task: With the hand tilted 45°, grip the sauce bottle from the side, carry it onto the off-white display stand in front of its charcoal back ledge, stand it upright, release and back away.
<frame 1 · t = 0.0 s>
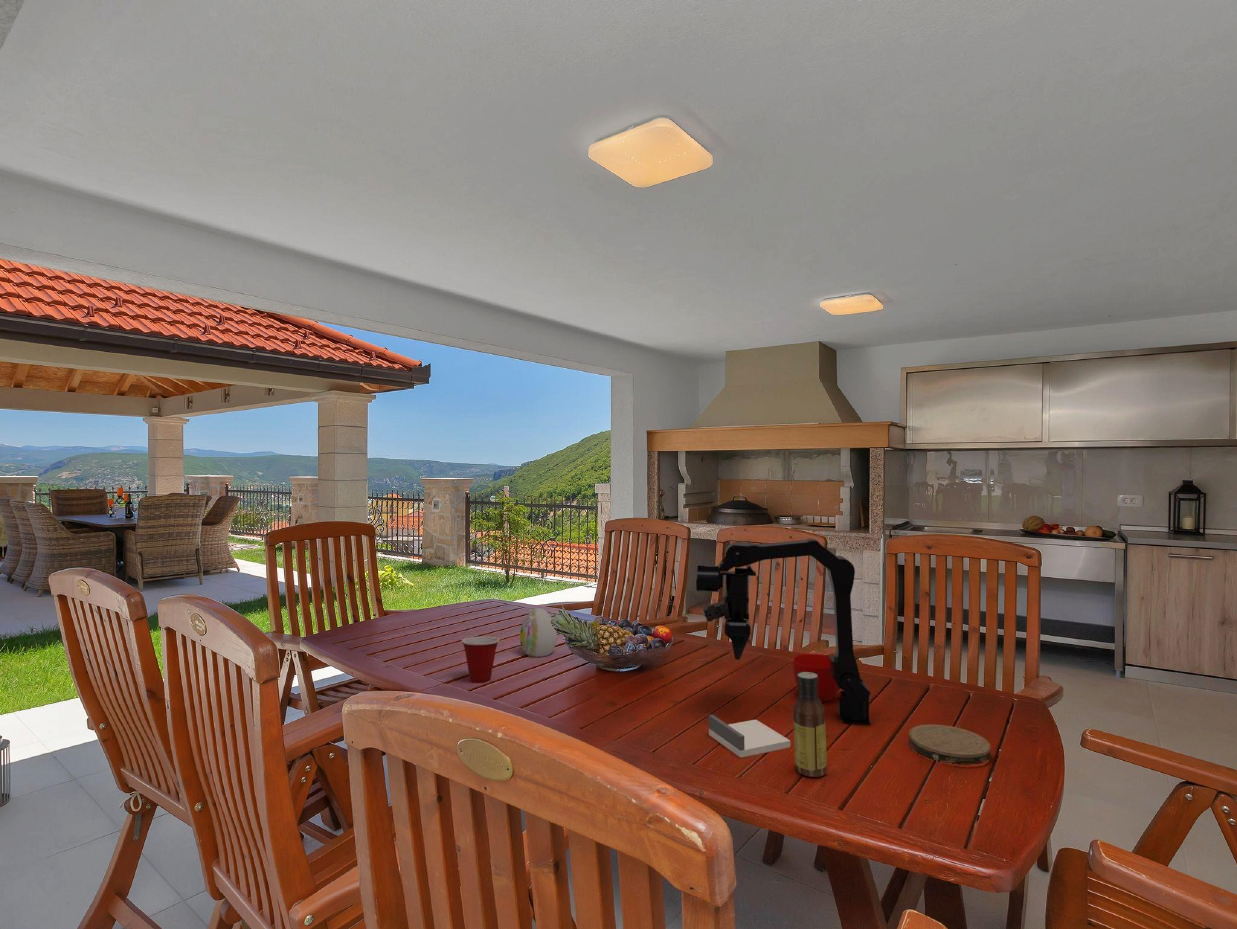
hand: (737, 654, 165), 15 cm above the table, tool pointing down, fingers open, 9 cm apart
display stand: (748, 740, 148), on the table
decorative egg: (538, 654, 216), on the table
ceramic cup: (825, 698, 175), on the table
sauce bottle: (810, 772, 133), on the table
grey-brown flat disc: (948, 753, 142), on the table
plastic cup: (480, 680, 190), on the table
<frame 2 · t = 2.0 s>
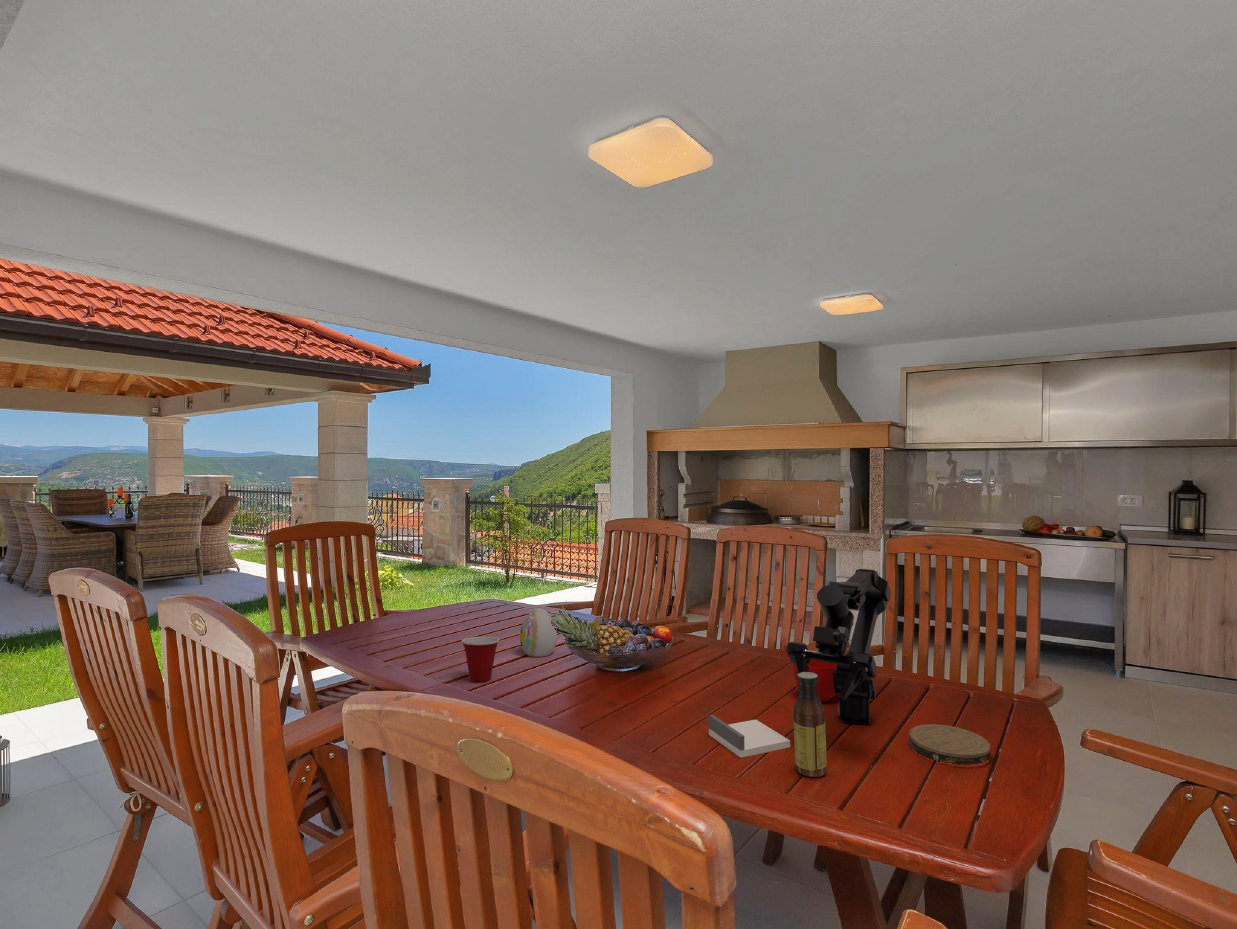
hand: (821, 694, 140), 13 cm above the table, tool tilted 45°, fingers open, 9 cm apart
nothing on the table moved.
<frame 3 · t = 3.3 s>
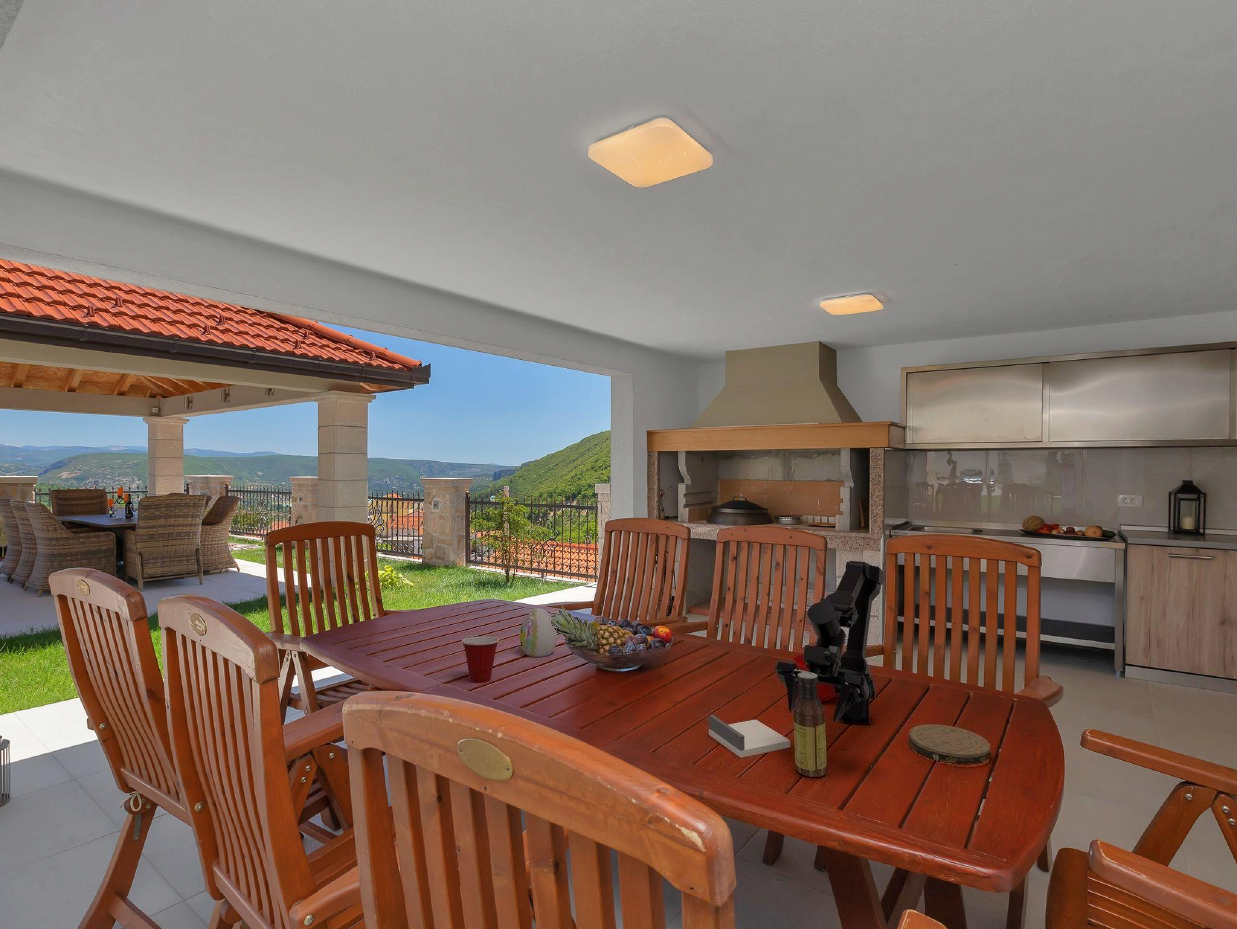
hand: (811, 716, 134), 11 cm above the table, tool tilted 45°, fingers open, 9 cm apart
nothing on the table moved.
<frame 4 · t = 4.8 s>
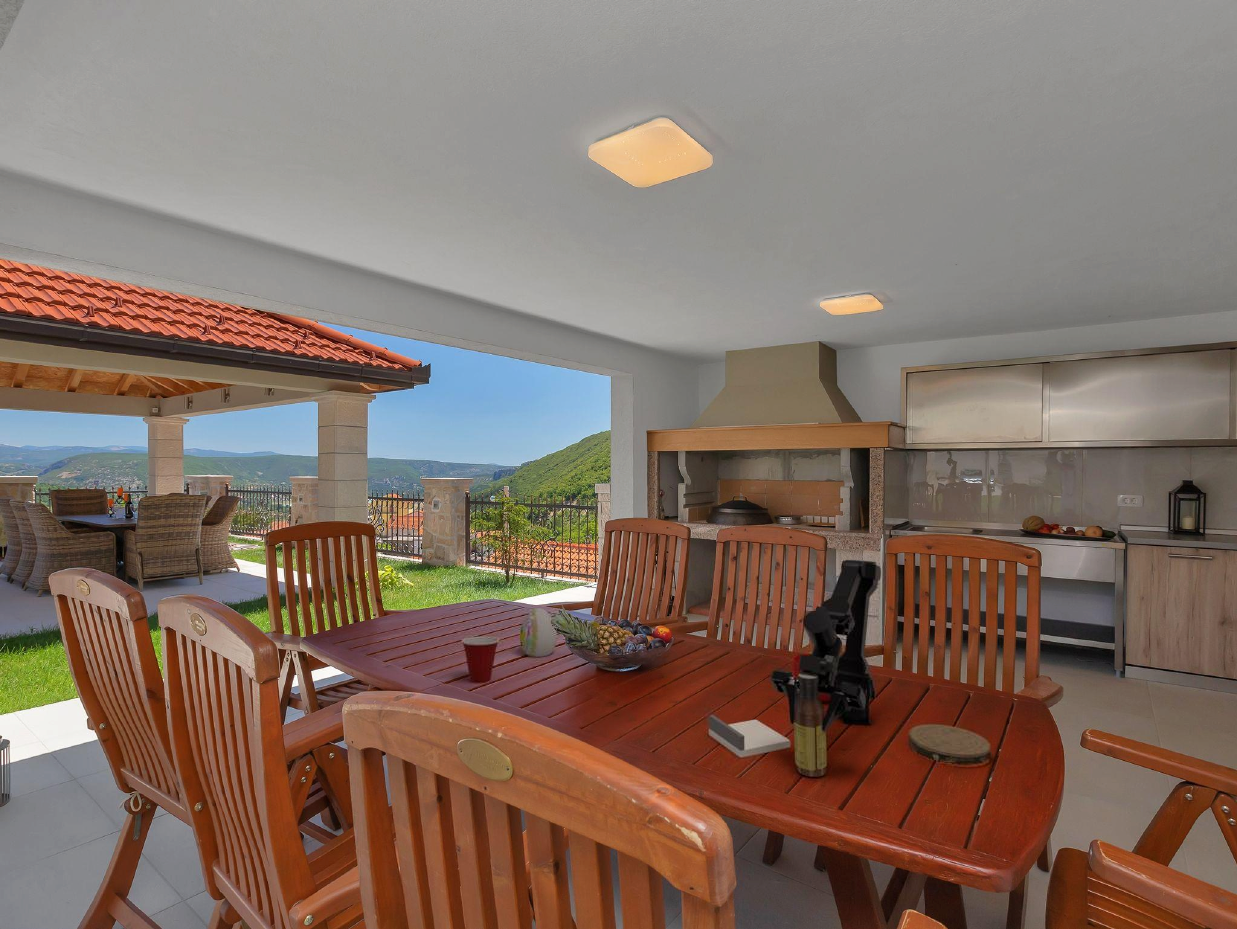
hand: (807, 726, 132), 10 cm above the table, tool tilted 45°, fingers closed on sauce bottle, 6 cm apart
sauce bottle: (810, 772, 133), on the table, touching gripper
everything else where it was.
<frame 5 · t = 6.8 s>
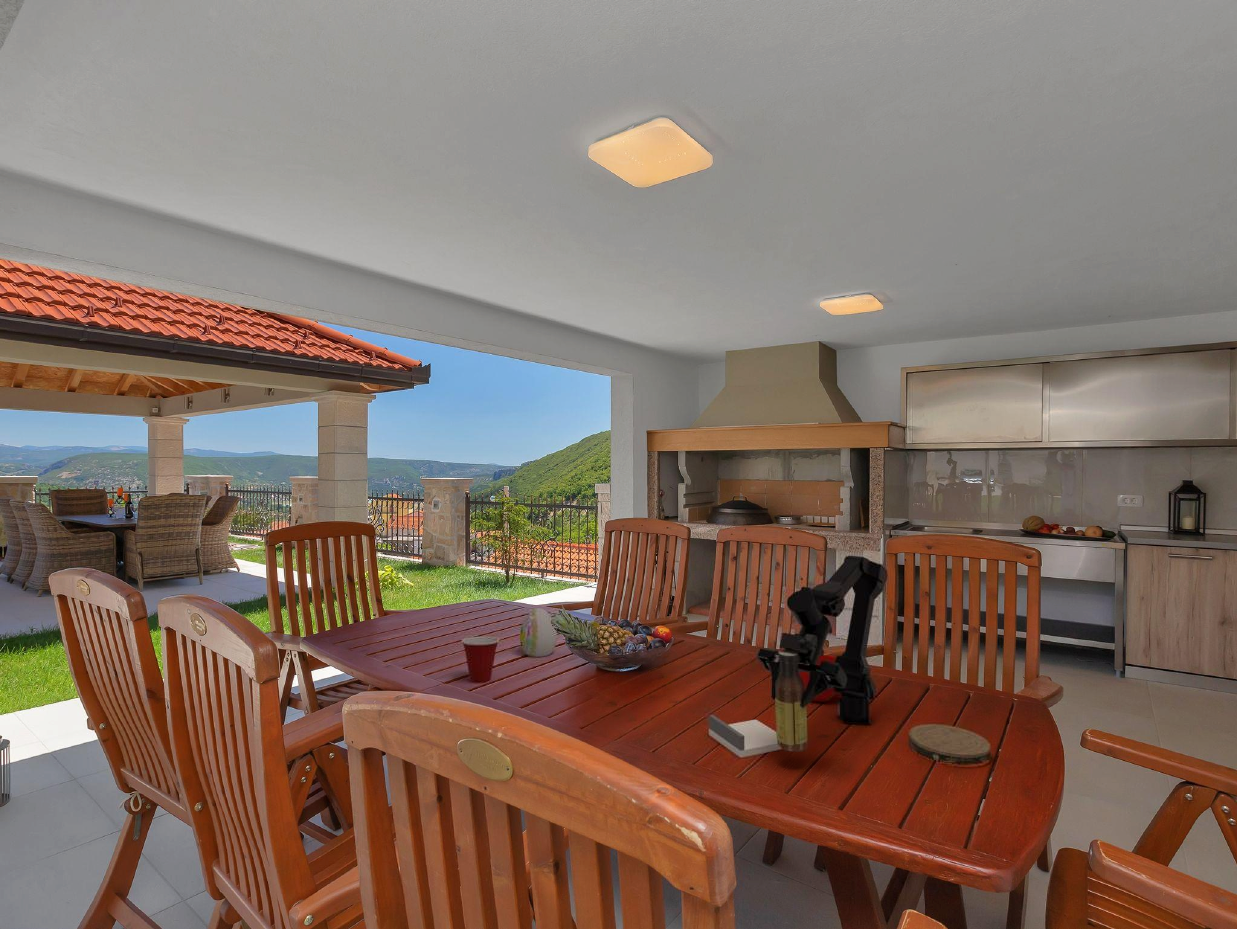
hand: (787, 702, 135), 13 cm above the table, tool tilted 45°, fingers closed on sauce bottle, 6 cm apart
sauce bottle: (791, 747, 136), point 3 cm above the table, touching gripper
everything else where it was.
when the fingers open (12 cm above the table, at t = 9.1 s): sauce bottle stays where it is, resting on display stand.
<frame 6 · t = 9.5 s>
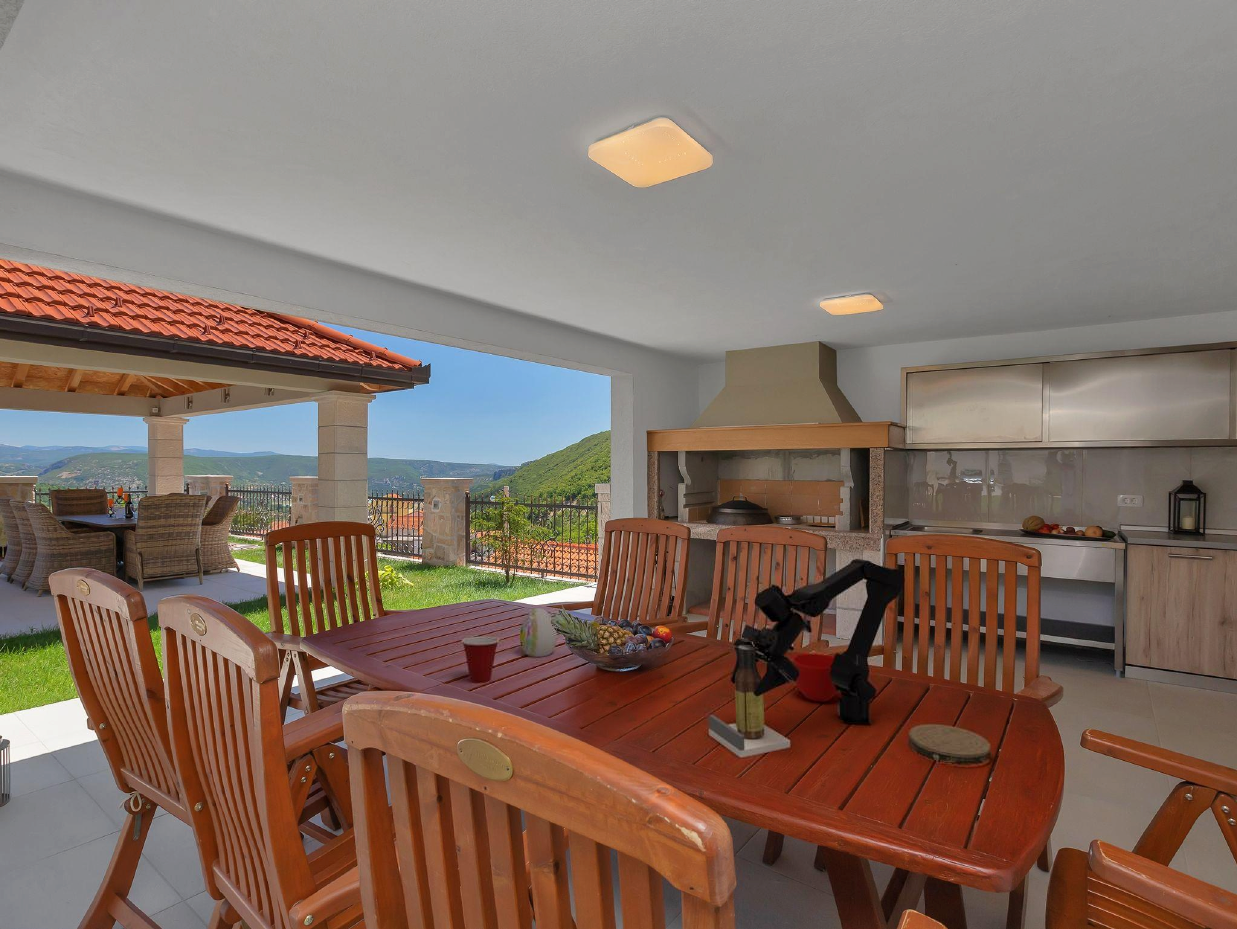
hand: (743, 688, 147), 12 cm above the table, tool tilted 45°, fingers open, 9 cm apart
sauce bottle: (749, 735, 148), point 1 cm above the table, touching display stand
everything else where it was.
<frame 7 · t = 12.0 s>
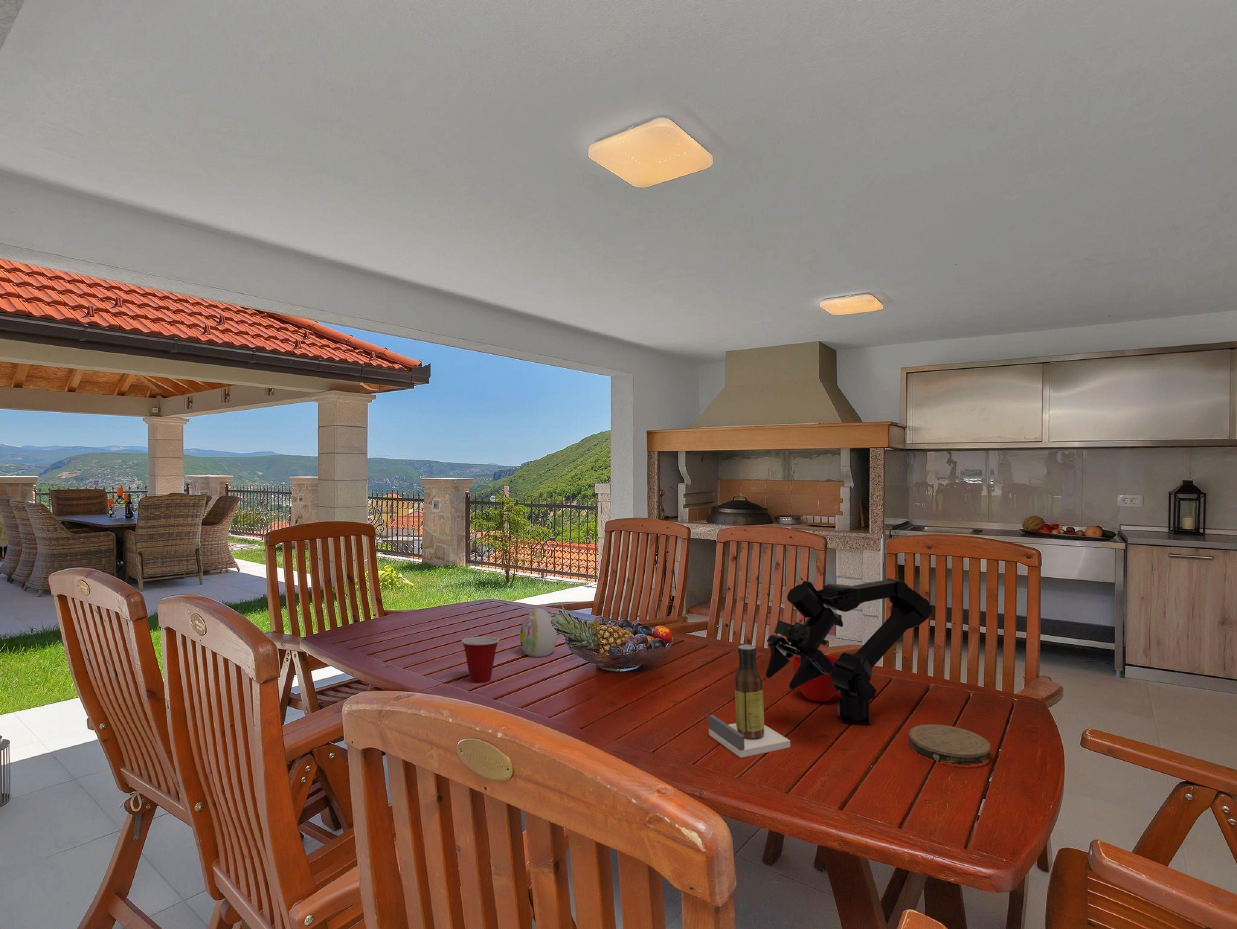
hand: (778, 682, 151), 12 cm above the table, tool tilted 45°, fingers open, 9 cm apart
nothing on the table moved.
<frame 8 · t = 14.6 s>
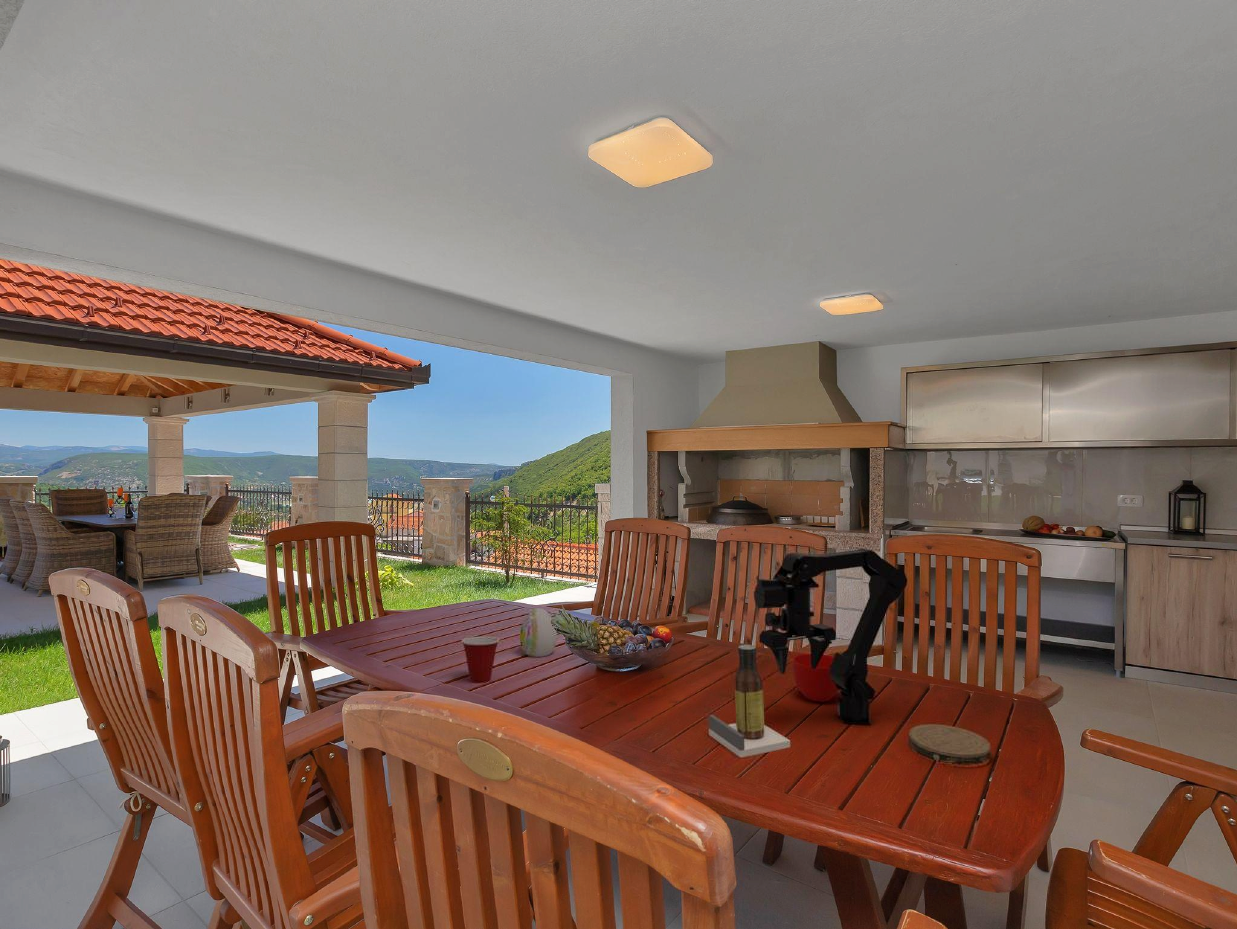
hand: (798, 671, 157), 13 cm above the table, tool pointing down, fingers open, 9 cm apart
nothing on the table moved.
at the end: sauce bottle inside the target area on the display stand (0.2 cm from its centre), point 1.3 cm above the display stand's base; sauce bottle tilted 0°; the gripper is holding nothing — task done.
